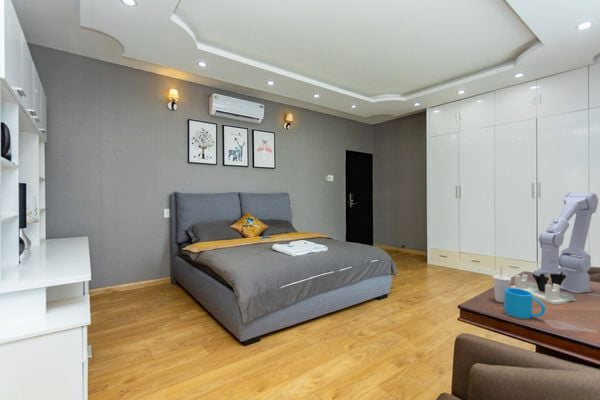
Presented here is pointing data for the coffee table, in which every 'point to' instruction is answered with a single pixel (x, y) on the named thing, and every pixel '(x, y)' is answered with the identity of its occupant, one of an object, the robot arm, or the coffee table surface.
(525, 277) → the rack
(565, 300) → the mat
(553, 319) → the coffee table surface
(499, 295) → the smoothie
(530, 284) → the rail
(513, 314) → the mug
